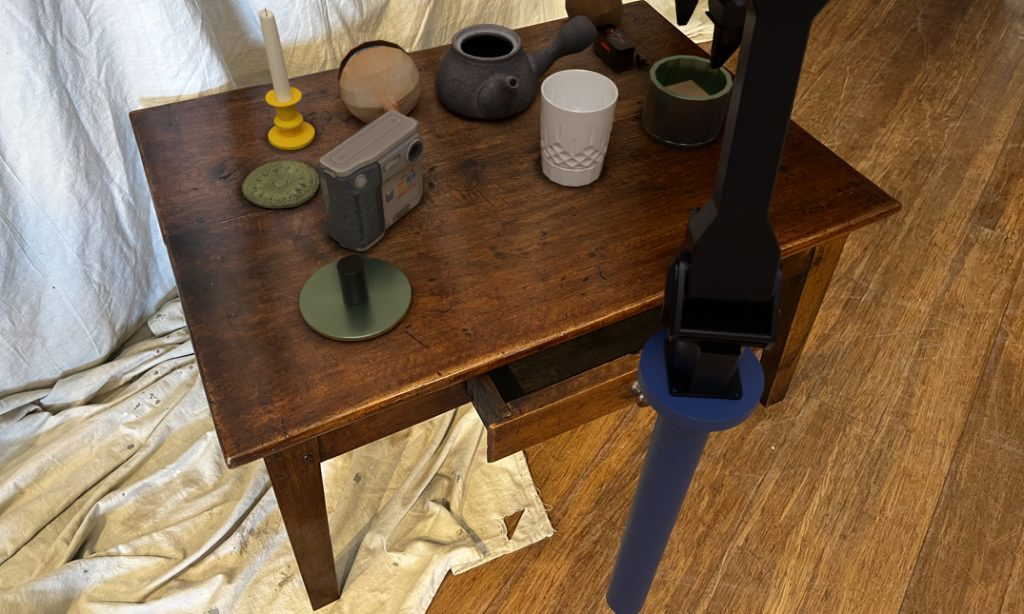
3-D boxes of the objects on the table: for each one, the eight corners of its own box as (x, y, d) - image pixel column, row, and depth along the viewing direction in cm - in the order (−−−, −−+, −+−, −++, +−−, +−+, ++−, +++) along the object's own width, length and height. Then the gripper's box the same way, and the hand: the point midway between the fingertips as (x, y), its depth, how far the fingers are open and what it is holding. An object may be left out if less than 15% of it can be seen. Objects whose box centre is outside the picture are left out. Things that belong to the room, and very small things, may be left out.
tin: (723, 150, 91) (737, 101, 87) (644, 146, 92) (653, 97, 87) (714, 105, 98) (726, 57, 93) (639, 101, 98) (647, 53, 93)
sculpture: (394, 16, 94) (423, 49, 82) (416, 90, 99) (445, 132, 87) (318, 40, 92) (336, 77, 81) (345, 114, 98) (365, 159, 86)
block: (704, 126, 94) (711, 97, 91) (676, 134, 92) (683, 105, 89) (684, 108, 96) (691, 79, 93) (657, 116, 95) (662, 87, 92)
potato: (606, -41, 110) (553, -25, 111) (623, -37, 99) (563, -19, 100) (619, 18, 114) (567, 34, 114) (636, 28, 103) (578, 46, 103)
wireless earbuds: (618, 76, 101) (622, 53, 99) (590, 49, 105) (593, 27, 103) (649, 69, 102) (653, 46, 100) (620, 42, 107) (624, 20, 104)
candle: (323, 128, 92) (300, 0, 80) (302, 154, 89) (275, 24, 77) (282, 119, 93) (254, -9, 81) (260, 145, 90) (227, 15, 78)
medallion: (226, 196, 83) (225, 190, 83) (274, 155, 88) (272, 149, 88) (289, 219, 81) (287, 214, 80) (334, 176, 86) (333, 171, 85)
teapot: (459, 150, 90) (457, 71, 83) (424, 78, 100) (420, 2, 92) (611, 122, 95) (622, 45, 87) (563, 56, 104) (570, -18, 97)
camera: (359, 260, 78) (346, 179, 70) (317, 235, 80) (301, 154, 72) (435, 201, 84) (430, 121, 76) (395, 179, 86) (386, 99, 79)
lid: (403, 348, 70) (399, 310, 67) (289, 342, 70) (278, 303, 67) (418, 267, 77) (415, 228, 73) (314, 262, 77) (305, 222, 73)
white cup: (531, 148, 91) (536, 70, 83) (599, 145, 91) (610, 67, 84) (541, 192, 85) (546, 113, 78) (612, 189, 86) (625, 110, 79)
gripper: (618, -135, 80) (601, 11, 92) (690, -56, 68) (660, 101, 80) (720, -142, 82) (690, 2, 94) (807, -66, 70) (761, 89, 82)
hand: (697, 45), depth 87 cm, fingers open, 9 cm apart
